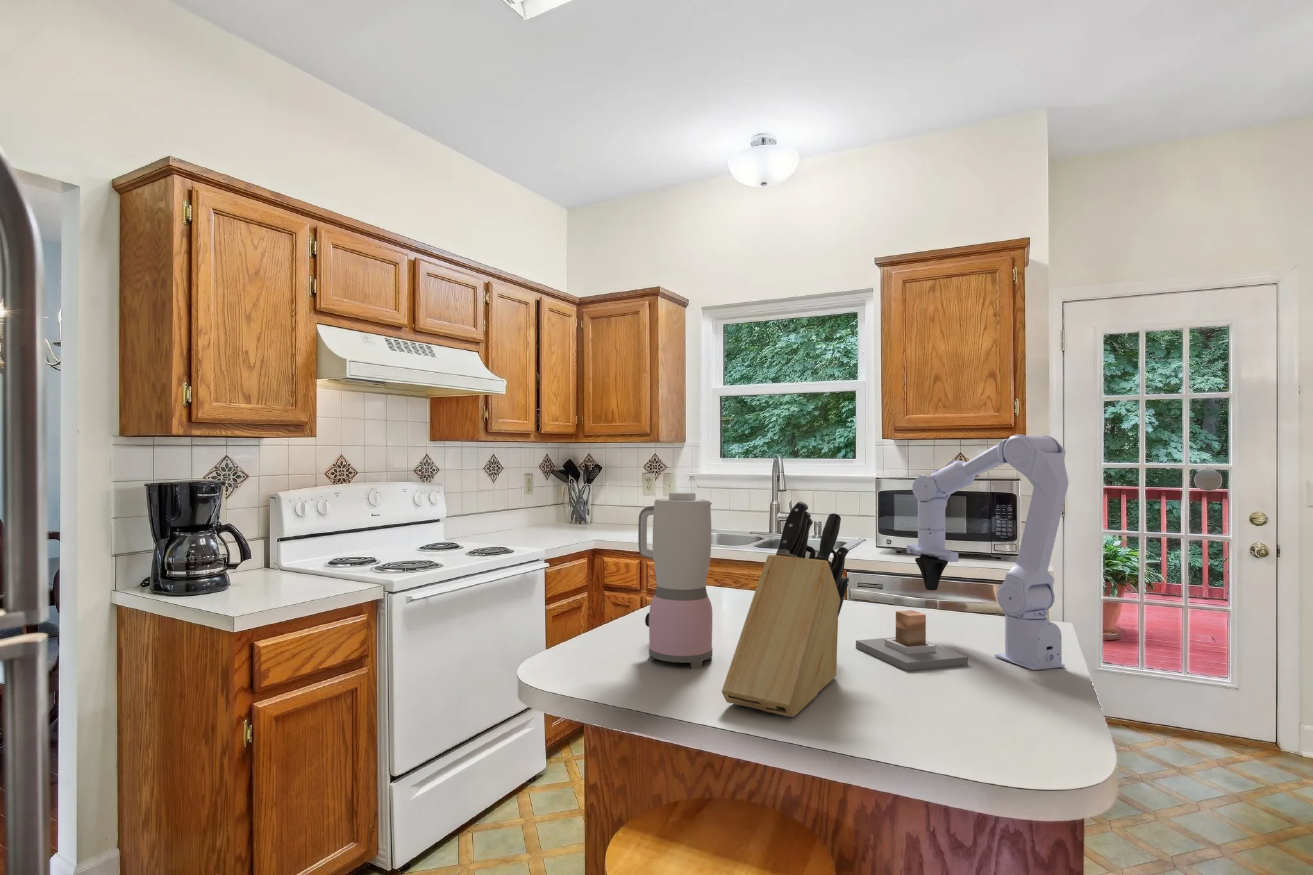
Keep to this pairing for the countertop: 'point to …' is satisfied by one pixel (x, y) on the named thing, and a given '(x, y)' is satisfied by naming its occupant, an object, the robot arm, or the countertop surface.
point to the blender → (679, 578)
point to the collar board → (911, 654)
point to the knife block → (791, 622)
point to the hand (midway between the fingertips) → (931, 589)
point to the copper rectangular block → (910, 628)
